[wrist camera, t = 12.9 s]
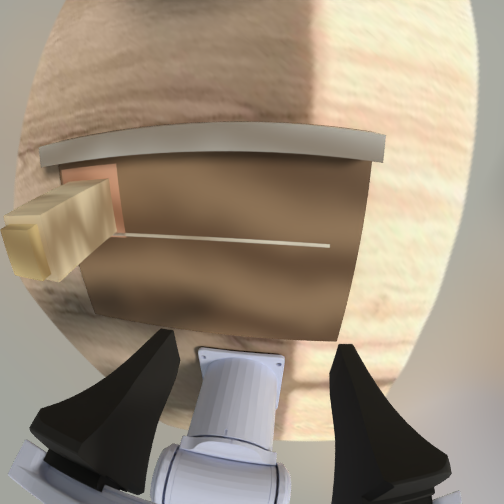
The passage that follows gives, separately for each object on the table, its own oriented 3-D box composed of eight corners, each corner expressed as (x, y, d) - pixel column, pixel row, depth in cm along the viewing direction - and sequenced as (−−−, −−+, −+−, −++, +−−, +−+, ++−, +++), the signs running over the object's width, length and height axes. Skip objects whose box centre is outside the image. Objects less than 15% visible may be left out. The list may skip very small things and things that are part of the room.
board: (335, 331, 23) (339, 359, 20) (101, 306, 25) (85, 326, 22) (368, 131, 15) (385, 135, 12) (65, 139, 17) (38, 147, 15)
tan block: (116, 231, 19) (51, 290, 12) (78, 229, 20) (13, 281, 13) (108, 178, 17) (30, 221, 10) (69, 181, 18) (-6, 221, 11)
